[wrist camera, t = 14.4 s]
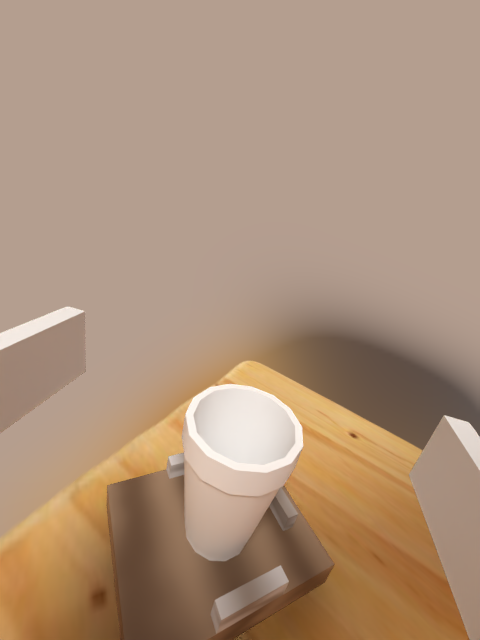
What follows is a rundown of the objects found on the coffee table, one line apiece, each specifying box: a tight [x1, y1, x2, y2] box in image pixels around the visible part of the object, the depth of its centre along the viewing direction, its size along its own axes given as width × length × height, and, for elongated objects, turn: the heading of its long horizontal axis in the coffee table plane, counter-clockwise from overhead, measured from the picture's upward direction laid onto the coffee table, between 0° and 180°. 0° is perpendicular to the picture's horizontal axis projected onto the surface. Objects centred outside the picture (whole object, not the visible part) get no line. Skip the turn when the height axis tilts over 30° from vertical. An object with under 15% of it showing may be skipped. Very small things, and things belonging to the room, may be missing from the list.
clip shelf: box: [107, 453, 334, 640], centre depth 29 cm, size 18×14×5 cm
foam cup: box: [182, 384, 303, 561], centre depth 26 cm, size 10×9×13 cm
